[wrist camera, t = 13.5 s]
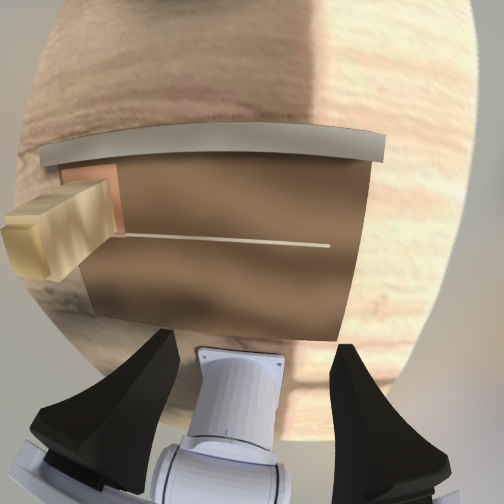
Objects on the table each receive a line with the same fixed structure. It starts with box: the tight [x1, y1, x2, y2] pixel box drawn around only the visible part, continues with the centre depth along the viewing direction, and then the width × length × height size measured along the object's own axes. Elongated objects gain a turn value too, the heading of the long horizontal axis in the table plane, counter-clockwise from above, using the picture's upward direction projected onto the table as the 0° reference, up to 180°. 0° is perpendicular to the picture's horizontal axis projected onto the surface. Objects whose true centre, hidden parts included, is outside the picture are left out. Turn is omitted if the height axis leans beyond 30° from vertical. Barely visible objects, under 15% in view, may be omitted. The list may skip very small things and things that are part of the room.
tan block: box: [1, 178, 117, 282], centre depth 15 cm, size 4×4×8 cm
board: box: [39, 121, 386, 341], centre depth 19 cm, size 16×22×3 cm
